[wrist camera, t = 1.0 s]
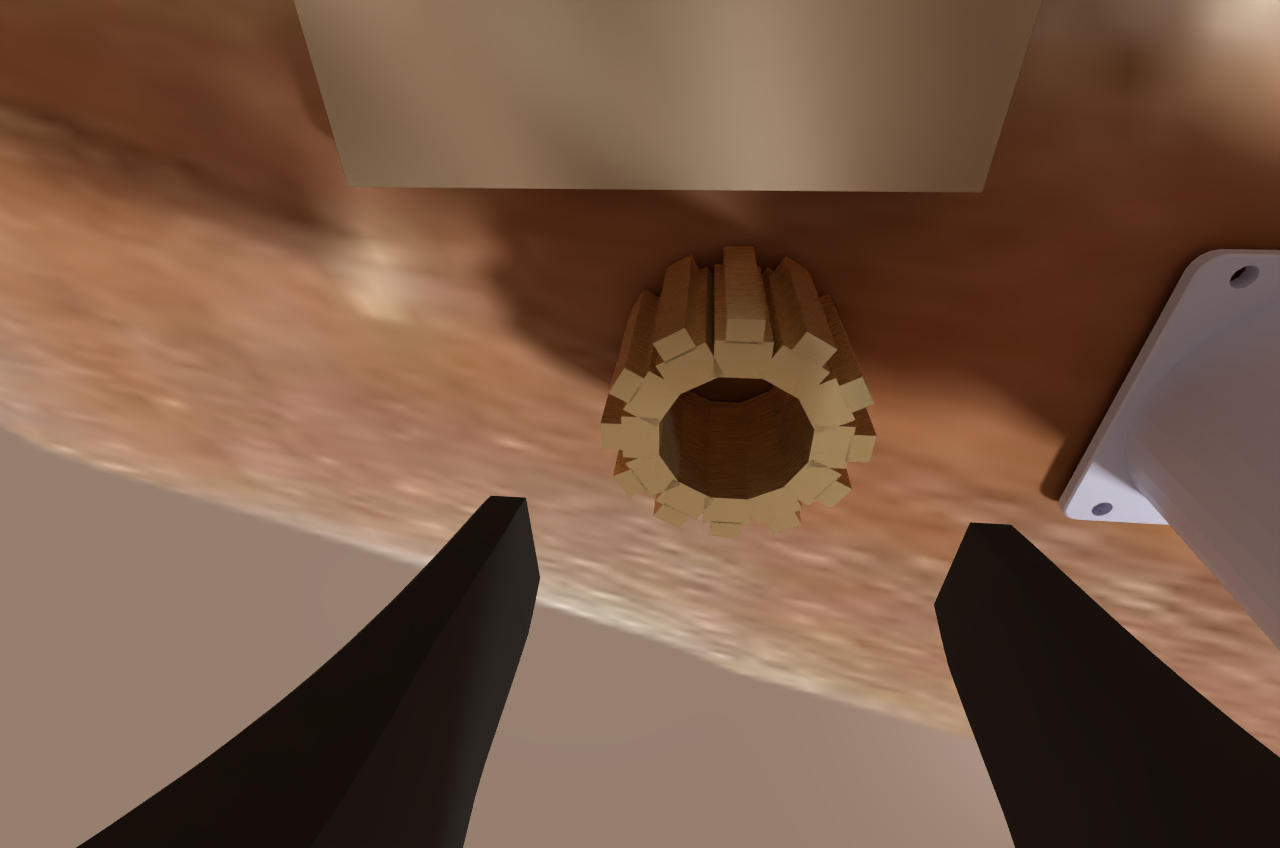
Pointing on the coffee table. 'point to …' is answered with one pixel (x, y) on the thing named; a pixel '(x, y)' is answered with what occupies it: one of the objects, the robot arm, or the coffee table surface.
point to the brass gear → (731, 431)
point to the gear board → (668, 92)
